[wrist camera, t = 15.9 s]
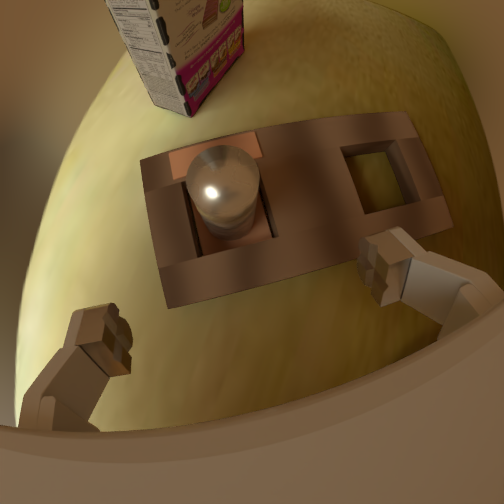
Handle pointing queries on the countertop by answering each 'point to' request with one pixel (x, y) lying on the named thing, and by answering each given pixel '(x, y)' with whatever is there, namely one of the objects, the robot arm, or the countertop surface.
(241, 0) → the candy bar box
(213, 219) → the metal peg
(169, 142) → the countertop surface
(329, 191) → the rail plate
